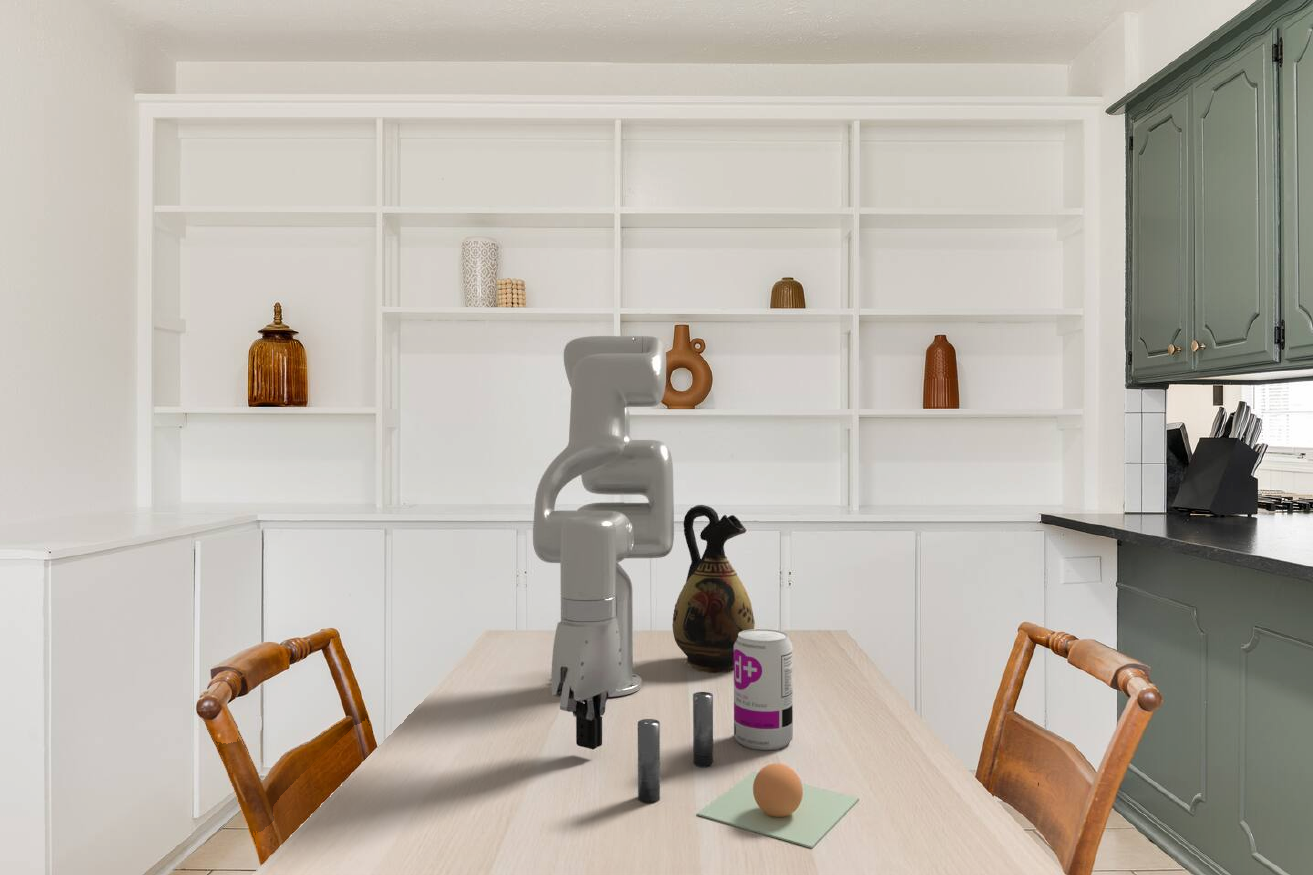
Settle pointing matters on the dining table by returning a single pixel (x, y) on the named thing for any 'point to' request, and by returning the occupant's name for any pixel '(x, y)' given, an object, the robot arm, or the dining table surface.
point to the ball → (777, 790)
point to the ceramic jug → (711, 597)
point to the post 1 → (648, 760)
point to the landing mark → (798, 827)
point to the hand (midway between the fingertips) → (589, 745)
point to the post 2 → (703, 729)
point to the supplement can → (763, 689)
